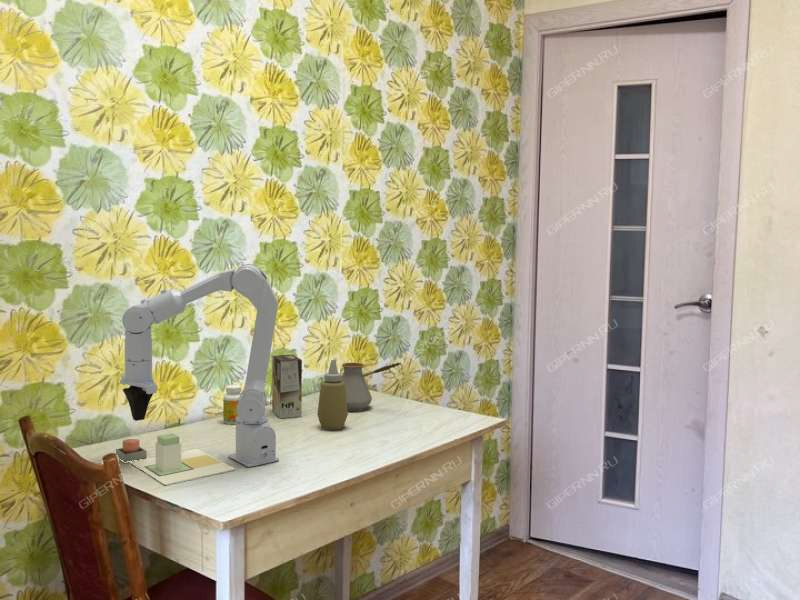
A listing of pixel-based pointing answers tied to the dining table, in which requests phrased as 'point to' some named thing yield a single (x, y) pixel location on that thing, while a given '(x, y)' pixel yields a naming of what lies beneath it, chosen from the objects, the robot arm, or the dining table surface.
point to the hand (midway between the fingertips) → (138, 419)
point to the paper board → (185, 467)
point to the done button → (131, 446)
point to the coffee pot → (358, 385)
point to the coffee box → (286, 386)
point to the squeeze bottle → (332, 400)
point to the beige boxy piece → (168, 452)
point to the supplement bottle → (231, 403)
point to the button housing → (131, 455)
